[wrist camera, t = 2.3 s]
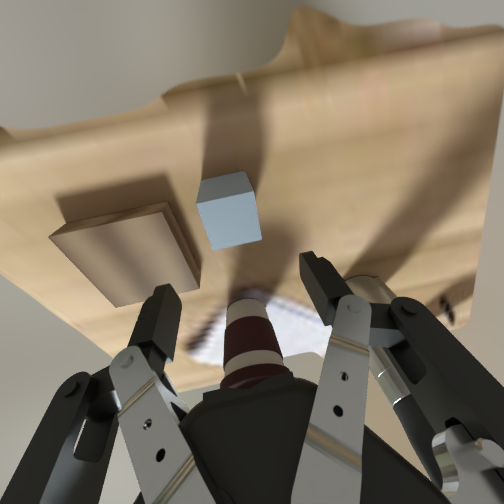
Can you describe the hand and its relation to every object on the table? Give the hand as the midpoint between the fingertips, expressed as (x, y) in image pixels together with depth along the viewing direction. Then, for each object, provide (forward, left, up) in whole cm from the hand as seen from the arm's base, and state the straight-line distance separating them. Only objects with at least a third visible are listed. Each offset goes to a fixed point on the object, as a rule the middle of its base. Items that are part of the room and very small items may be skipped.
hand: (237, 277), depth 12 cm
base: (+13, +5, -14) cm, 20 cm away
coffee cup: (+2, +22, -14) cm, 26 cm away
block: (0, 0, -14) cm, 14 cm away
